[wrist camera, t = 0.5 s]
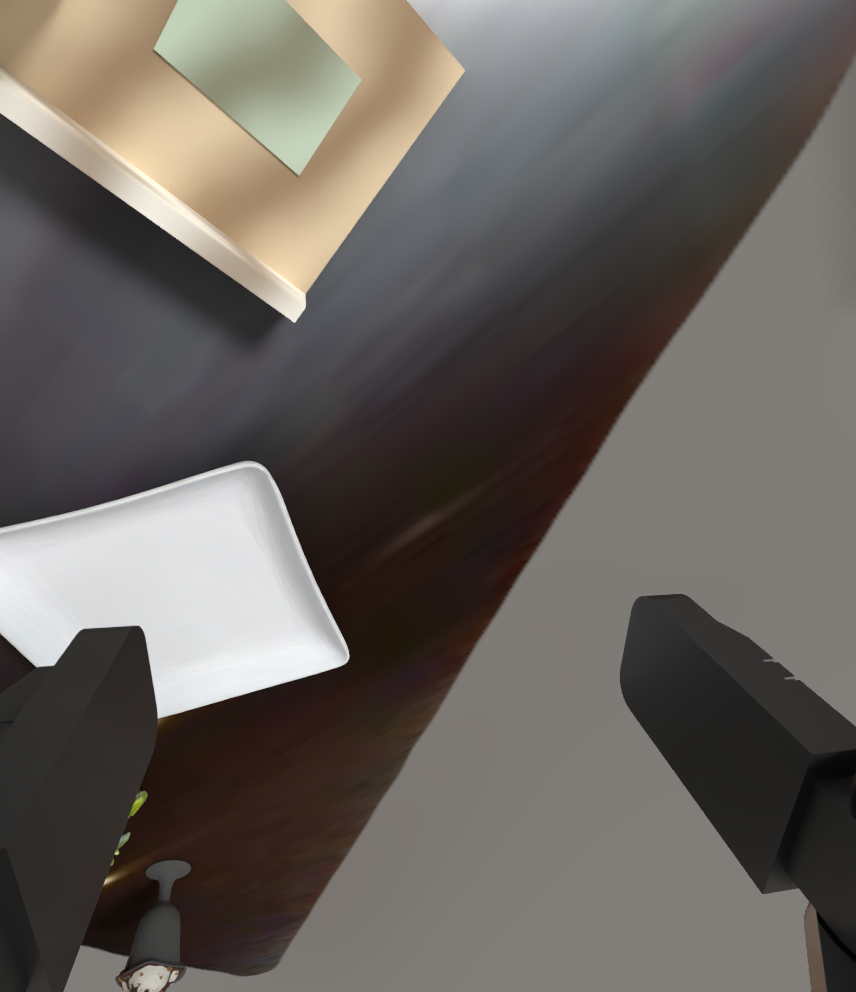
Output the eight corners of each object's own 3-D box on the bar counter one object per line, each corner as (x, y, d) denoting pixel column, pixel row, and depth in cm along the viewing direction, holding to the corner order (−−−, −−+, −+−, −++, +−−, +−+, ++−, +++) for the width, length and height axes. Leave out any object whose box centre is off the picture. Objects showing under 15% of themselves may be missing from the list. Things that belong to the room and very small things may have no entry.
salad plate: (351, 635, 49) (355, 667, 46) (113, 702, 48) (102, 738, 45) (266, 432, 36) (263, 459, 33) (-63, 517, 35) (-93, 552, 32)
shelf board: (-219, -70, 20) (-298, -96, 18) (-91, -582, 16) (-172, -724, 13) (293, 304, 31) (293, 324, 29) (459, 71, 27) (478, 67, 24)
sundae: (164, 850, 63) (133, 1027, 51) (210, 864, 67) (192, 1031, 55) (124, 874, 64) (84, 1052, 52) (171, 886, 68) (145, 1054, 56)
